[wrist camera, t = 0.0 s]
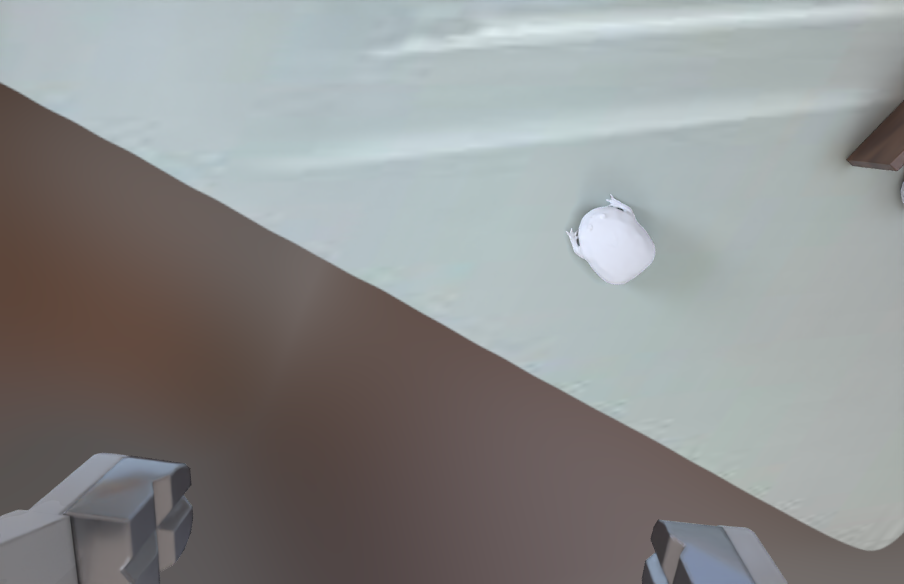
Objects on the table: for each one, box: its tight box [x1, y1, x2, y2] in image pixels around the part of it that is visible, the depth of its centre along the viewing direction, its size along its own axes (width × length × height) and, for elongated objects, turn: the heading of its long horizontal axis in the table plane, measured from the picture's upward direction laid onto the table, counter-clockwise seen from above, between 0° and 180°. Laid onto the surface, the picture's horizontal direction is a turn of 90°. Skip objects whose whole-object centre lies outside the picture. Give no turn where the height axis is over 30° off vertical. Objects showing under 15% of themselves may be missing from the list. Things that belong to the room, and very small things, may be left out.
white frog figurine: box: [565, 194, 655, 285], centre depth 54 cm, size 8×7×4 cm
